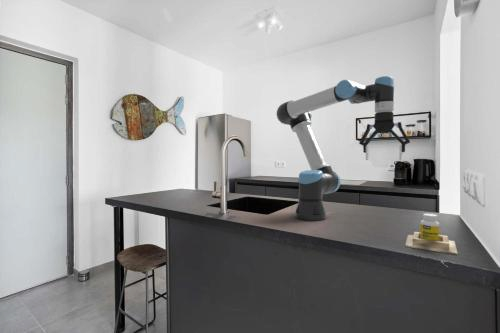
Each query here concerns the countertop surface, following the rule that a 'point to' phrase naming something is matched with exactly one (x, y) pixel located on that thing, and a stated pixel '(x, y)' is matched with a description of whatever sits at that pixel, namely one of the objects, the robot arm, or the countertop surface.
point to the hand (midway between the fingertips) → (383, 160)
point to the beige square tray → (431, 244)
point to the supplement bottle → (429, 227)
